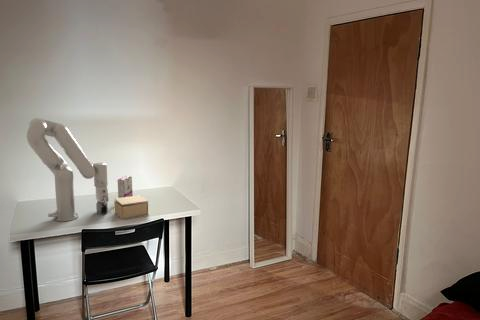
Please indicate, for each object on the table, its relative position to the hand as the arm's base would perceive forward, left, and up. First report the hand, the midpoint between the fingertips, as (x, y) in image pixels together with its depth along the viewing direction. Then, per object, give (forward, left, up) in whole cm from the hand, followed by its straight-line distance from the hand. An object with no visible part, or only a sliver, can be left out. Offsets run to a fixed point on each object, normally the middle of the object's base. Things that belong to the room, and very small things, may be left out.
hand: (102, 211), depth 228 cm
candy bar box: (+20, +14, -1) cm, 24 cm away
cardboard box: (+14, -12, -1) cm, 18 cm away
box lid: (+14, -12, +7) cm, 20 cm away
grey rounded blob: (0, 0, -1) cm, 1 cm away
